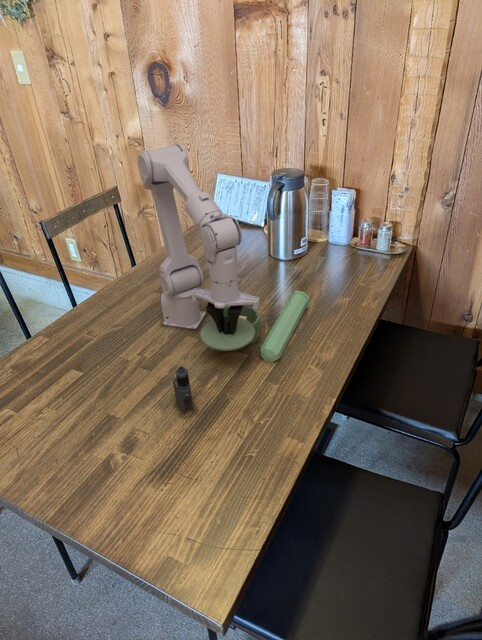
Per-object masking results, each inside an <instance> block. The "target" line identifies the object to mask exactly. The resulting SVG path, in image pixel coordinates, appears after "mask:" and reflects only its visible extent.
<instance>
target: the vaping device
mask: <svg viewBox="0 0 482 640" xmlns="http://www.w3.org/2000/svg"><path fill="white" fill-rule="evenodd" d="M172 384H173V390H174V396H175V401H176V403H177V405H178V407H179V409H180V411H181V413H182V414H183V415H186V414H190V413H192V412H194V410H195V408H194V403H193V395H192V388H191V384H190V377H189V370H188V369H187V368H185V367H184V366H182V365H181V366H179V367H178V368H177V369H176V370H175V372H174V374H173V378H172Z"/></svg>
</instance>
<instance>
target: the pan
mask: <svg viewBox="0 0 482 640" xmlns="http://www.w3.org/2000/svg"><path fill="white" fill-rule="evenodd" d="M229 308H230V306H225V307H224V317H227V316H228V314H227V311H228V309H229ZM239 316H246V317H247V321H249V322H250V323H251V324H252V325H253V327H254V329H255V336H254V338H253V340H252V341H251V342H250V343H249V344H248V345H251V344H253V343H254V342H255V341H256V340H258V339H259V337H260V334H261V325H260V324H261V321H260V320H261V318H260V312H259V311H258V310H255V309H253V307H246V306H243V308H242V310H241V313H240V315H239Z"/></svg>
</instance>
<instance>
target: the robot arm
mask: <svg viewBox="0 0 482 640" xmlns="http://www.w3.org/2000/svg"><path fill="white" fill-rule="evenodd" d="M137 167H138V171H139V176H140V180H141V184H142V185H143V188H144V189H145V190H149V191H150V192H151V195H152V198H153V202H154V207H155V211H156V215H157V219H158V223H159V228H160V231H161V236H162V239H163V243H164V249H165V252H166V256H167V257H166V258H165V259H164V260H163V261H162V263H161V264H160V265H159V268H158V272H159V281H160V285H161V288H162V290H163V291H162V293H161V297H160V307H161V312H162V318H163V322H162V326H174V327H179V328H187V329H194V330H195V329H197V328H198V326H199V325H200V323H201V321H202V320H203V318H204V317H205V315H206V313H208V315H210V317H211V318H212V320H214V322H215V324H216V326H217V328H218V331H219V332H221V333H222V331H223V330H222V318H223V317H224V307H225V306H230V308H229V309H228V311H227V314H228V317H229V321H230V333H231V334H234V333H235V331H236V329H237V322H238V318H239V315H240V313H241V310H242V308H243V306H246V307H253V309H255V310H257V311H258V309H259V308H260V305H261V300H260V299H261V298H260V296H256V295H255V296H254V295H252V294H249V293H246V292H244V291H240V290H239V278H238V277H239V276H238V258H237V257H238V256H237V255H238V254H237V246H240V245H241V243H242V240H243V234H242V230H241V226H240V224H239V222H238V220H237V218H235V217H234V216H233V215H229V214H228V213H224V212H223V211H222V210H221V208H220V207H219V206H218V204H217V203H216V201H215V200H214V199H213V197H212V196H211V194H210V193H209V192H206V191H201V189H200V187H199V185H198V184H197V182H196V180H195V178H194V177H193V175H192V173H191V172H190V159H189V155H188V153H187V150H186V149H185V147H184V146H183V145H182V144H181V143H178V144H174V145H169V146H165V147H160V148H154V149H149V150H141V151H140V152H139V154H138V156H137ZM174 189H175V190H176V192H177V193H178V194H179V195H180V196H181V197H182V198H183V200H184V201H185V202H186V203H185V211H186V213H187V214H188V216H189V217H190V219H191V220H192V222H193V224H194V225H195V226H196V228H197V229H198V231H199V232H200V233H199V238H200V242H201V245H202V247H203V252H204V256H205V258H206V259H207V264H208V275H209V277H208V278H209V287H210V288H201V287H202V286H203V285H204V281H205V277H204V272H203V270H202V268H201V265H200V261H199V260H198V258H197V257H195V256H194V255H191V254H188V252H187V247H186V243H185V242H186V241H185V237H184V233H183V229H182V224H181V220H180V215H179V211H178V207H177V201H176V198H175V194H174ZM200 301H203V302H207V305H206V307H205V311H202V310H201V307H200Z"/></svg>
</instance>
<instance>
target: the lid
mask: <svg viewBox="0 0 482 640" xmlns="http://www.w3.org/2000/svg"><path fill="white" fill-rule="evenodd" d="M222 330H223V331H222V333H221V332H219V331H218V328H217V326H216V324H215V322H214V320H213V319H212V320H209V321H208V322H206V323H205V324H204V325H203V326H202V328H201V330H200V340H201V341H202V343H203V344H204V345H205V346H206V347H208V348H210V349H212V350H216V351H222V352H223V351H224V352H228V351H229V352H230V351H236V350H240V349H242V348H244V347H246V346H247V345H250V344H249V343H250V342H251V341H252V340H253V338H254V336H255V329H254V327H253V325H252V324H251V323H250V322H249V321H247V320H245V319H243V318H238V322H237V329H236V331H235V333H234V334H231V333H230V321H229V317H228V316H227V317H223V318H222Z"/></svg>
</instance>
